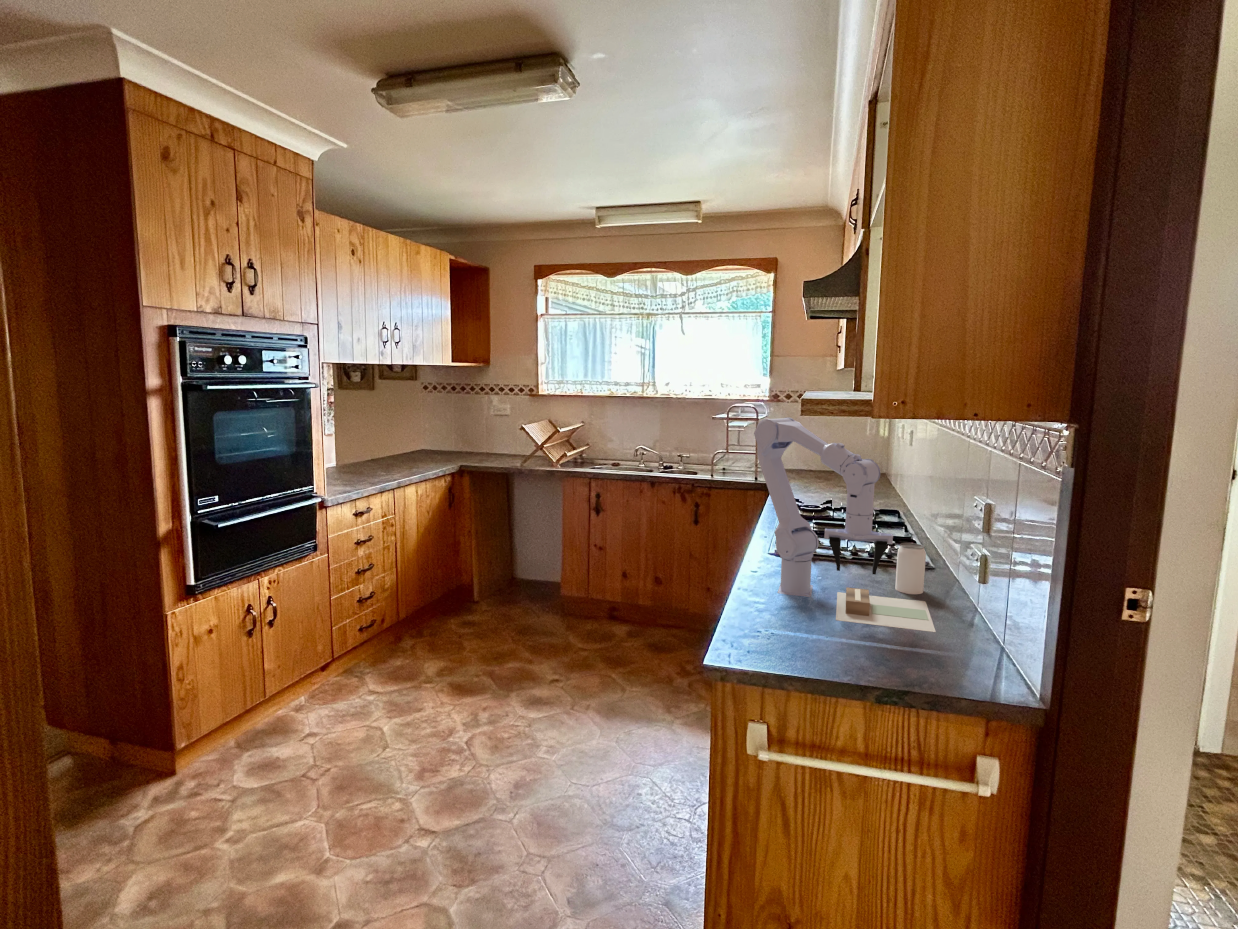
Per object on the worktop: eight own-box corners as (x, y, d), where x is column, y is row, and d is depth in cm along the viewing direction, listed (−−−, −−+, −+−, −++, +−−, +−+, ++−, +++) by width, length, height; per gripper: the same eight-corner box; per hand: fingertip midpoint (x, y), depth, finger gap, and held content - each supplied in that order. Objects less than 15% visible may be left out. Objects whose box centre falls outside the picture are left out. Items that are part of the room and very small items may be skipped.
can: (925, 597, 163) (929, 549, 161) (897, 595, 164) (901, 548, 162) (919, 589, 169) (922, 543, 167) (892, 587, 170) (895, 541, 168)
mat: (837, 594, 164) (837, 591, 164) (925, 603, 158) (925, 601, 158) (835, 622, 146) (835, 619, 145) (935, 634, 139) (935, 631, 139)
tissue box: (845, 599, 159) (846, 586, 158) (867, 601, 157) (868, 589, 157) (845, 613, 150) (846, 600, 149) (869, 616, 148) (869, 602, 147)
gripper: (825, 514, 148) (822, 572, 150) (894, 519, 144) (891, 579, 145) (826, 508, 155) (823, 564, 157) (893, 512, 150) (889, 571, 152)
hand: (856, 571), depth 152 cm, fingers open, 7 cm apart
